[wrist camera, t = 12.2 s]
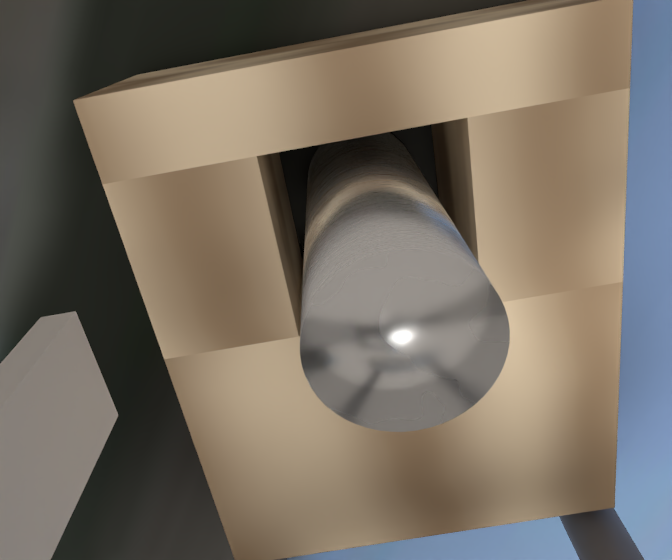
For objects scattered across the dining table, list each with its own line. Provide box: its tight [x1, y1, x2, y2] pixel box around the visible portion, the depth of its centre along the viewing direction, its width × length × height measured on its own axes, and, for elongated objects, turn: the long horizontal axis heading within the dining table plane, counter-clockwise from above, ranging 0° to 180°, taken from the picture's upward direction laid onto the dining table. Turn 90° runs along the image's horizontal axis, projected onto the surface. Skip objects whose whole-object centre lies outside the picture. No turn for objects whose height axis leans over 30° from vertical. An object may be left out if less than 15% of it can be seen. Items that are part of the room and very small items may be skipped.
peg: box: [300, 132, 510, 432], centre depth 17 cm, size 4×4×12 cm
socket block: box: [73, 0, 633, 560], centre depth 21 cm, size 14×17×6 cm
